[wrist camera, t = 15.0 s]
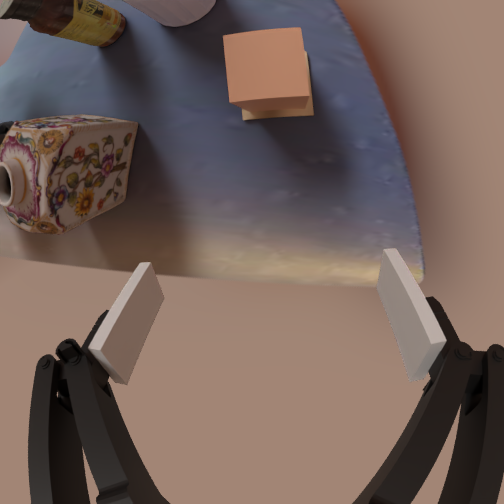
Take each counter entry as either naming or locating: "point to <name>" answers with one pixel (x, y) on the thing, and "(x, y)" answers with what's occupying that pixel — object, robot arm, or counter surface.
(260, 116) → the post
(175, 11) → the soap bottle
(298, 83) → the peach block
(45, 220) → the decorative jar
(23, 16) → the sauce bottle
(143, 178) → the counter surface
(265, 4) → the counter surface
